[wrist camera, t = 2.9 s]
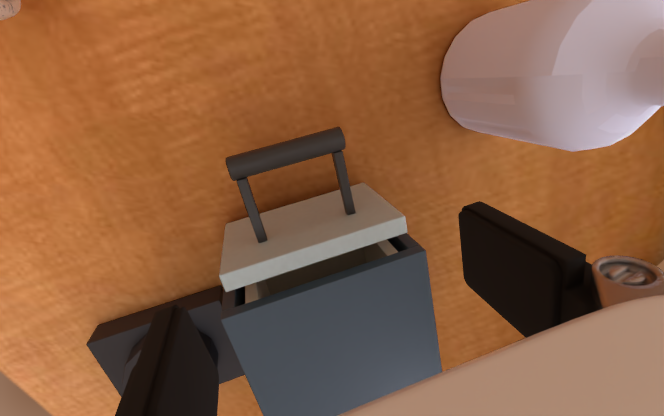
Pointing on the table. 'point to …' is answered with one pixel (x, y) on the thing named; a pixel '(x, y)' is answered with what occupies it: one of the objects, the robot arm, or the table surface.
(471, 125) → the soap bottle
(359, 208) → the drawer
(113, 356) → the panel
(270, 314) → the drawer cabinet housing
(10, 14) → the teacup with lid
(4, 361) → the table surface
